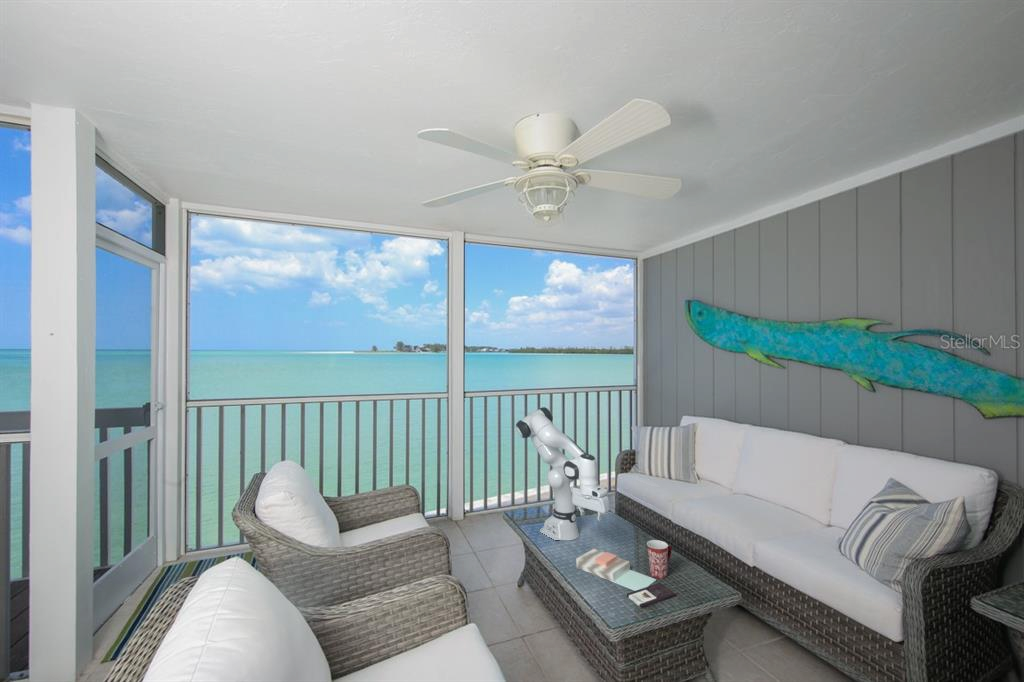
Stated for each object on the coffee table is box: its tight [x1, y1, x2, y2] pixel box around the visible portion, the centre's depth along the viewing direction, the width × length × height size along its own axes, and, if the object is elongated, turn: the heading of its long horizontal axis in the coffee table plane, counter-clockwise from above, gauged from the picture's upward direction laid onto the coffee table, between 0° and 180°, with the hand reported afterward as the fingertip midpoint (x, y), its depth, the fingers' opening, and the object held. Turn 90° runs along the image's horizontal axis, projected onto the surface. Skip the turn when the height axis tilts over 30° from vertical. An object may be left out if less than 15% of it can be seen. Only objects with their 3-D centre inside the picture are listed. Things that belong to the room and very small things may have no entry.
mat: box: [610, 569, 657, 591], centre depth 192 cm, size 14×14×1 cm
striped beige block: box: [575, 548, 631, 582], centre depth 203 cm, size 20×14×4 cm
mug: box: [646, 539, 673, 579], centre depth 198 cm, size 13×9×14 cm
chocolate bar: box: [626, 582, 677, 609], centre depth 179 cm, size 9×1×18 cm
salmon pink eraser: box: [595, 551, 618, 567], centre depth 202 cm, size 6×9×2 cm, turn 135°
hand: (590, 518), depth 209 cm, fingers open, 8 cm apart
